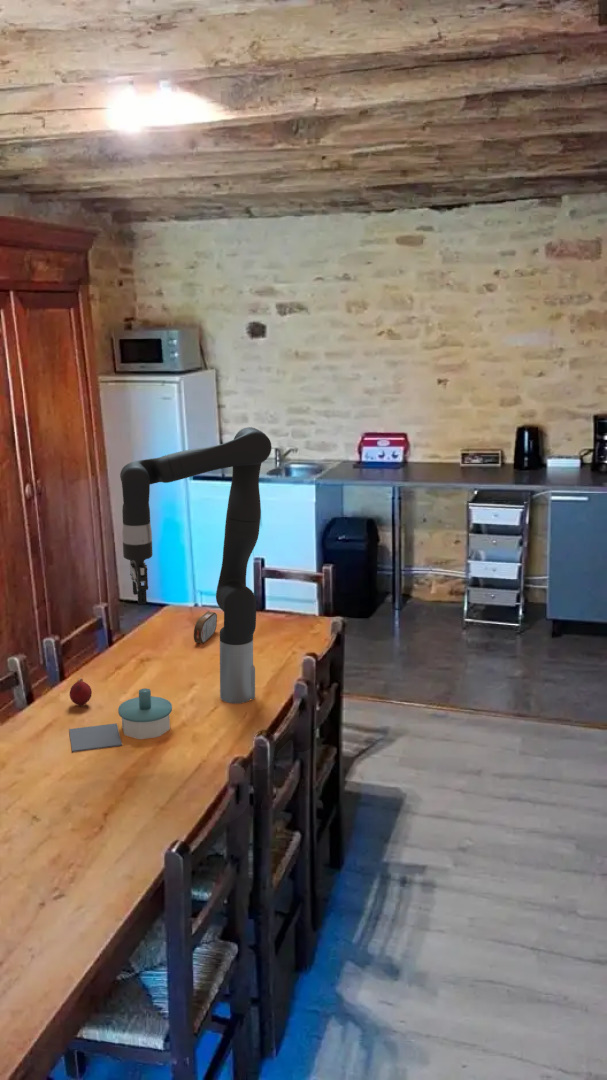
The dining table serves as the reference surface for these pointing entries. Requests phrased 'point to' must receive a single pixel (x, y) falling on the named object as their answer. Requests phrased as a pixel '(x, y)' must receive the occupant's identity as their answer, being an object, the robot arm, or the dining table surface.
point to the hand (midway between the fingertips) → (139, 598)
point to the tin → (205, 627)
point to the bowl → (146, 728)
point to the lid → (145, 707)
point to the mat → (95, 737)
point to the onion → (80, 692)
